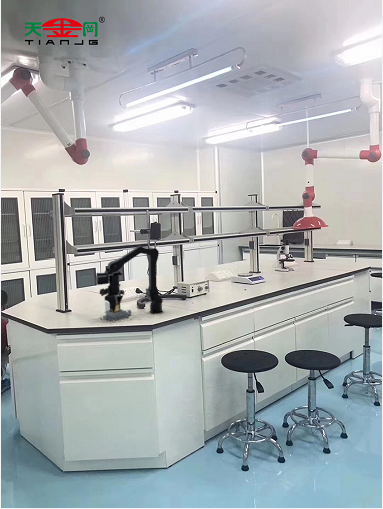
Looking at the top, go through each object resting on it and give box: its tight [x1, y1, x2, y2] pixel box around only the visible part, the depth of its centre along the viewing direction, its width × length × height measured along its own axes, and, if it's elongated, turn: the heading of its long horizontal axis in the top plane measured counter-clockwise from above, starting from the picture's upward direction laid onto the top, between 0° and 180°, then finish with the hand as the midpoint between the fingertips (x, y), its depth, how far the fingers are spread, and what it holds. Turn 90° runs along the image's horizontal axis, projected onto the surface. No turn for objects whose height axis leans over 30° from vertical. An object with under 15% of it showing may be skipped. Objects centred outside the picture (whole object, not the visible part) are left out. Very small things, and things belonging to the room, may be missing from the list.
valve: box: [112, 302, 119, 313], centre depth 238 cm, size 4×4×8 cm
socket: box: [102, 308, 132, 322], centre depth 240 cm, size 15×11×4 cm
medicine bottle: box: [104, 300, 121, 313], centre depth 252 cm, size 7×7×12 cm
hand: (115, 309), depth 238 cm, fingers open, 7 cm apart
